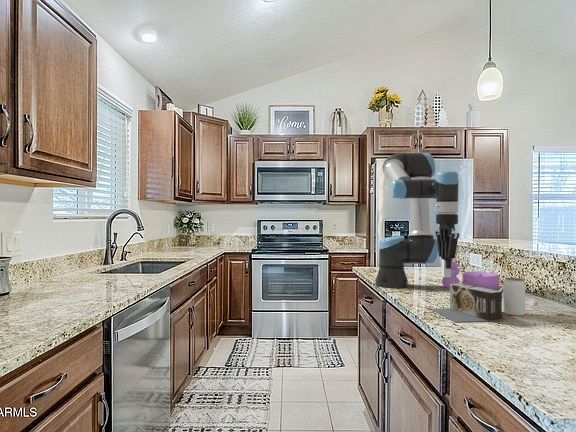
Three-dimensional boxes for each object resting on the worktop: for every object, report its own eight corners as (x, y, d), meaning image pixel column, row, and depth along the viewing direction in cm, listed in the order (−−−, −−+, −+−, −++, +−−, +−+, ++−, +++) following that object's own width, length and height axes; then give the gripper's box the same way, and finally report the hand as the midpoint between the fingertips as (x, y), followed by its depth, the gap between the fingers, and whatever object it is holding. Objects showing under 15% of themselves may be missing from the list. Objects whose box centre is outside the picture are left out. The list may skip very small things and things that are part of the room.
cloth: (547, 307, 142) (547, 291, 142) (497, 307, 142) (497, 291, 142) (512, 294, 164) (512, 280, 164) (469, 294, 164) (469, 280, 164)
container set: (489, 284, 184) (489, 257, 184) (505, 291, 169) (505, 261, 169) (436, 284, 186) (437, 257, 185) (448, 290, 170) (448, 261, 170)
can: (505, 310, 135) (505, 276, 135) (526, 313, 131) (526, 278, 131) (501, 314, 130) (501, 279, 130) (523, 317, 126) (523, 281, 126)
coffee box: (449, 284, 136) (488, 292, 121) (462, 282, 138) (502, 290, 123) (449, 309, 136) (488, 321, 121) (462, 307, 138) (503, 318, 123)
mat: (431, 309, 136) (431, 308, 136) (473, 308, 138) (473, 307, 138) (455, 322, 120) (455, 321, 120) (502, 321, 122) (502, 320, 122)
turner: (477, 307, 139) (477, 304, 139) (486, 307, 139) (486, 304, 139) (504, 319, 124) (504, 316, 124) (514, 319, 124) (514, 315, 124)
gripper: (429, 213, 147) (428, 274, 147) (446, 213, 134) (446, 280, 134) (447, 213, 148) (447, 273, 148) (466, 213, 135) (466, 279, 135)
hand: (446, 276), depth 141 cm, fingers closed
